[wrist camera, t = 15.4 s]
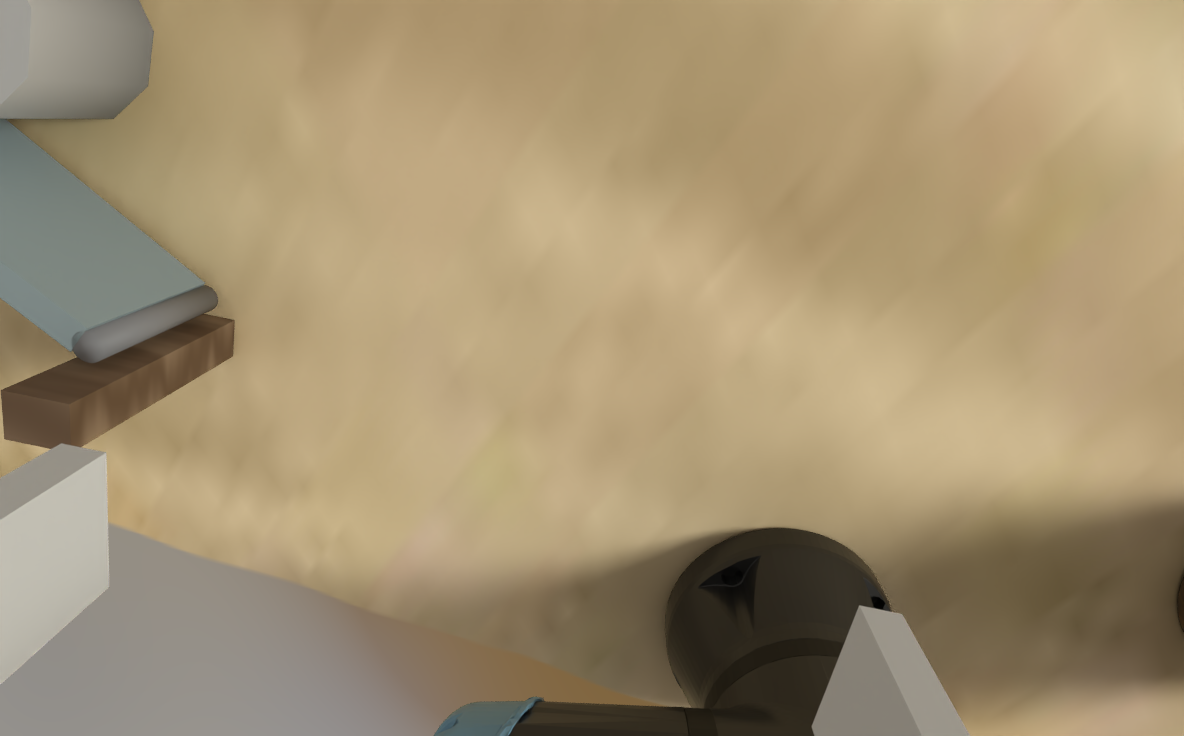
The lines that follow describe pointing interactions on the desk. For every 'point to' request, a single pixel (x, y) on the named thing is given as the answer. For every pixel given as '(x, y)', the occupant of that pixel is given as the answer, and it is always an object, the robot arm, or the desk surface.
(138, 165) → the desk surface
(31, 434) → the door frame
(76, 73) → the toilet tissue
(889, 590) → the desk surface
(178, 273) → the door
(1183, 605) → the wooden container
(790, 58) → the desk surface
